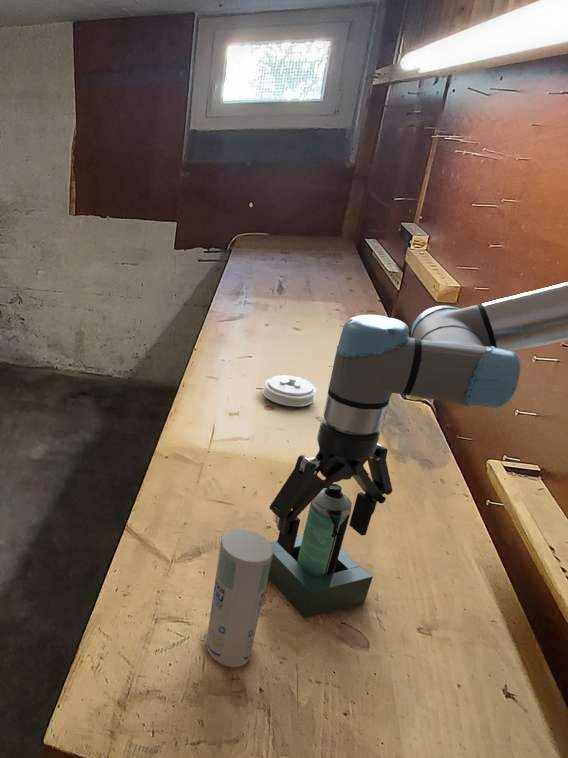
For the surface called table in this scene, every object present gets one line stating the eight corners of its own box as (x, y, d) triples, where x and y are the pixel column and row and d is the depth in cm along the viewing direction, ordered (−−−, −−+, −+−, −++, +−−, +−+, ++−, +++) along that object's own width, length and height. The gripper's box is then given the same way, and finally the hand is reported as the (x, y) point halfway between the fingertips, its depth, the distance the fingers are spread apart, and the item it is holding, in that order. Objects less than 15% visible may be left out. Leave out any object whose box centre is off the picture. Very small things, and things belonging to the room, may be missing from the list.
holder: (364, 602, 90) (373, 576, 87) (304, 619, 87) (310, 593, 85) (314, 553, 100) (320, 529, 97) (258, 567, 97) (263, 543, 95)
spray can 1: (255, 671, 80) (278, 565, 71) (207, 665, 81) (224, 560, 72) (247, 633, 85) (267, 530, 76) (203, 628, 86) (218, 526, 78)
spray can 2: (336, 594, 91) (364, 495, 83) (305, 599, 91) (330, 500, 82) (315, 570, 96) (340, 474, 87) (286, 574, 95) (307, 478, 87)
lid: (304, 388, 157) (307, 372, 155) (320, 409, 146) (324, 392, 143) (257, 387, 158) (260, 371, 156) (270, 409, 147) (273, 392, 145)
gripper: (400, 398, 86) (367, 508, 95) (258, 424, 80) (238, 539, 90) (444, 421, 79) (405, 537, 89) (293, 452, 74) (268, 572, 83)
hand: (321, 538), depth 89 cm, fingers open, 13 cm apart
